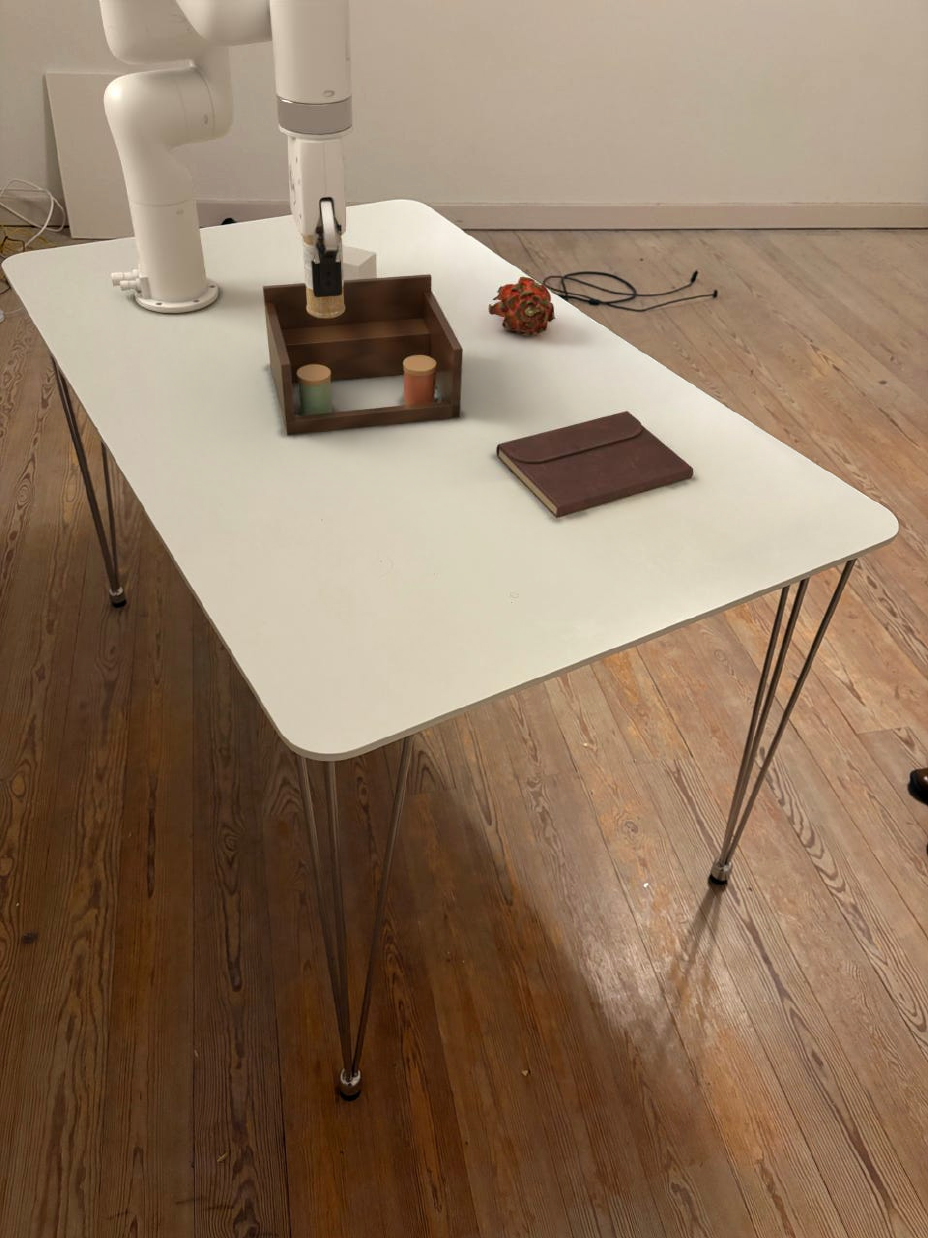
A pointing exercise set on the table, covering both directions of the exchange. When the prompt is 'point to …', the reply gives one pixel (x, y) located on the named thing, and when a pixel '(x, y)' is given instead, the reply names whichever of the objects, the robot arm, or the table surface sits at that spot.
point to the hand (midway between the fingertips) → (324, 283)
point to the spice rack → (363, 347)
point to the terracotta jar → (419, 379)
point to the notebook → (592, 463)
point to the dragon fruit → (524, 307)
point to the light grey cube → (358, 263)
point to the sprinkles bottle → (315, 305)
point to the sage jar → (314, 389)
